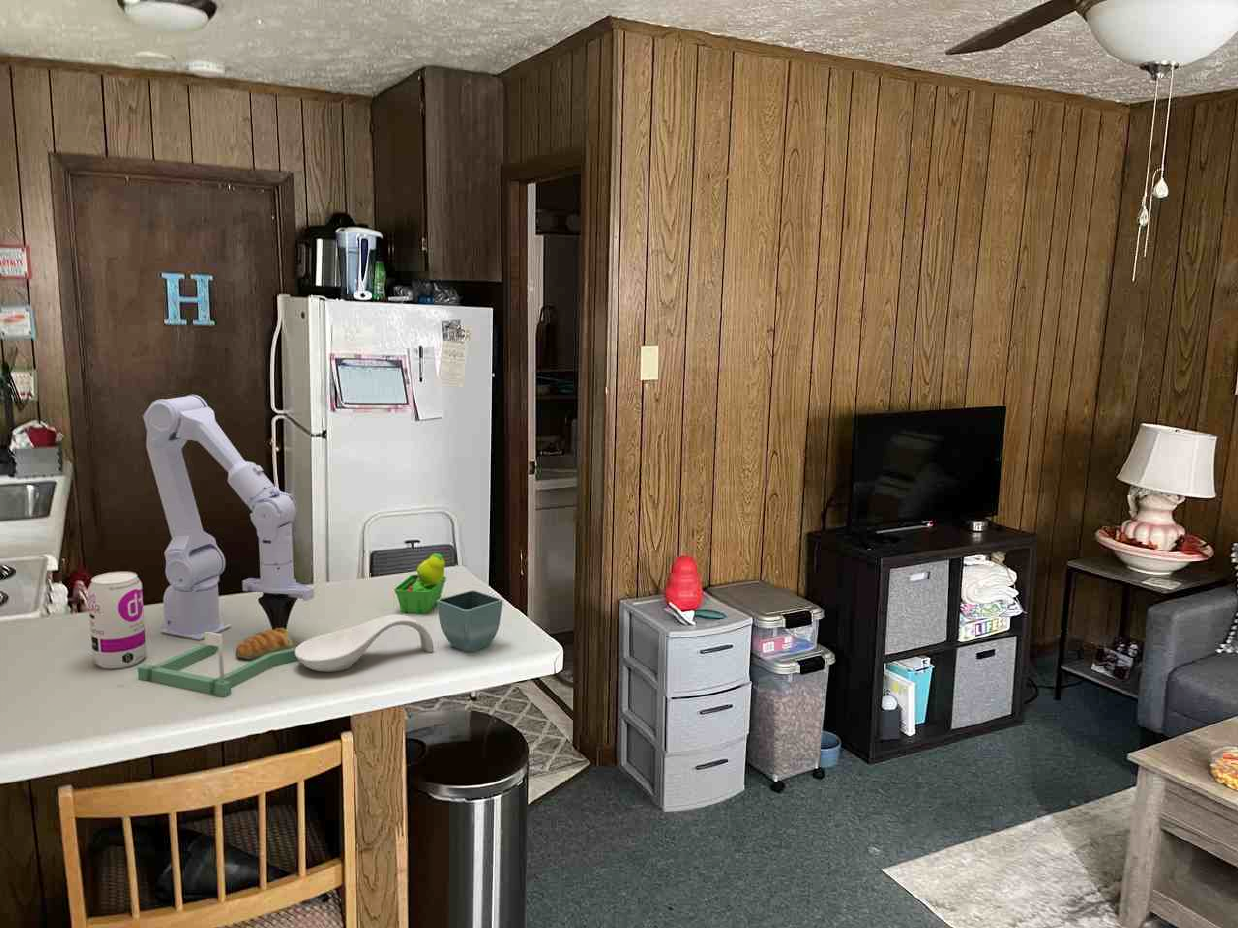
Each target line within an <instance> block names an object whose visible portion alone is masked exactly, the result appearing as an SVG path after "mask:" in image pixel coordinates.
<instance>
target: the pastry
mask: <svg viewBox="0 0 1238 928" xmlns="http://www.w3.org/2000/svg"><path fill="white" fill-rule="evenodd" d="M292 648H294V644H293V640H292V637H291V636H290V633H289V631H288V630H287V629H284V628H283V627H282V628H275V630H272V629H269V630H265V631H260V632H258V633H256V634H255V635H254V636H252V637H250V638H247V639H245V640H244V641H243V642H241V643H239V644H238V645H237V646H236V649H235V656H237V657H238V658H241V659H245V660H249V661H252V660H256V659H258V658H260V657H262V656H264V655H266V654H269V653H273V652H278V651H282V650H287V649H292Z"/></svg>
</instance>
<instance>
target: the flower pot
mask: <svg viewBox="0 0 1238 928" xmlns="http://www.w3.org/2000/svg"><path fill="white" fill-rule="evenodd" d="M503 601H504V600H503V599H502V598H499V597H496V596H492V595H490V594H486V593H484V592H481V591H478V590H474V589H473V590H468V591H464V592H460V593H457V594H454V595H450V596H446V597H443V598H440V599H438V600H437V603H436V605H437V611H438V612H437V613H438V618H439V619H438V620H439V623H440V628H441V630H442V632H443V635H444V637H445V638H446V640H447V641H448V642H449V644H450V645H451V646H452V647H454V648H456V649H459V650H461V651H463V652H465V653H471V652H475V651H478V650H480V649H481V650H482V649H484V648H486V647H489V646H490V645H491V644H492V642H493V641H494V639H495V637H496V636H497V635H498V634H497V633H498V631H499V629H500V625H501V618H502V609H503Z"/></svg>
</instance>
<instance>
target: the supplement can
mask: <svg viewBox="0 0 1238 928" xmlns="http://www.w3.org/2000/svg"><path fill="white" fill-rule="evenodd" d="M143 597H144V595H143V583H142V581H141V579H140V577H138V574H137V573H136V572H132V571H113V572H107V573H102V574H98V575H96V576H93V577H92V578H91V580H90V583H89V585H88V587H87V599H88V601H87V602H88V611H89V614H88V615H89V625H90V637H91V638H90V639H91V648H92V649H91V650H92V661H93V663H94V664H95V665H97V666H98V667H100V668H101V669H109V670H112V669H113V670H114V669H115V670H117V669H124V668H129V667H131V666H135V665H137V664H139V663H140V662H142V661H143V660H144V658H145V657H147V654H148V653H147V640H146V626H145V611H144V610H145V609H144V598H143Z"/></svg>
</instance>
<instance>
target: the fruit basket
mask: <svg viewBox="0 0 1238 928" xmlns="http://www.w3.org/2000/svg"><path fill="white" fill-rule="evenodd" d="M416 572H417V574H412V575H409V576H408V577H407V578H406V579H405V580H403V581H402V582H401V583H400V584H399V585H397V586H396V587H395V588H394V593H395V595H396V597H397V600H398V604H399V607H400V610H401V613H409V614H428V612H429V611H430V610H432V609H433V607H434V606H436V605H437V600H438V599H442V598H441V596H442V594H443V588H444V585H445V583H446V580H447V577H446V576H444V574H445V560H444V556H443V555H441V554H440V553H433V554H431V555H430V556H429V557H428V558H426V559H425V560H424V561H422V562H421V563H420V564H419V565H418V566H417V568H416Z"/></svg>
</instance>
